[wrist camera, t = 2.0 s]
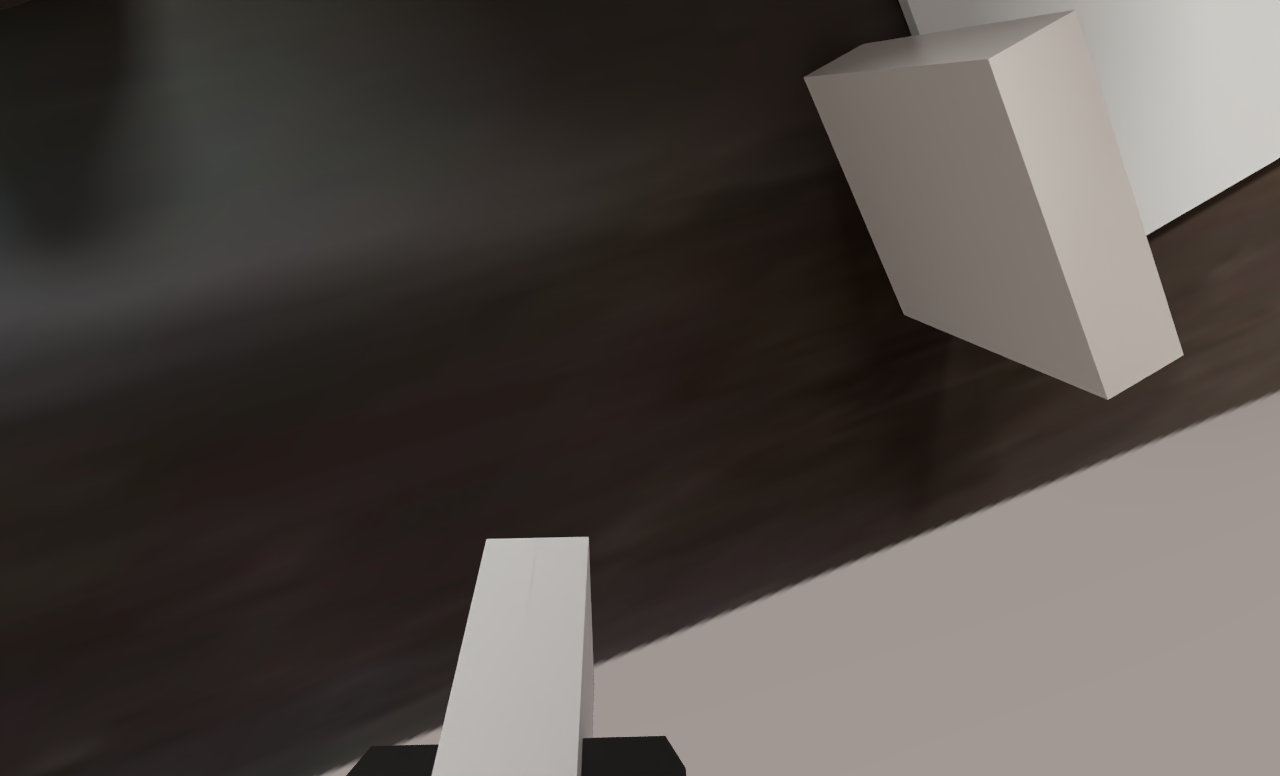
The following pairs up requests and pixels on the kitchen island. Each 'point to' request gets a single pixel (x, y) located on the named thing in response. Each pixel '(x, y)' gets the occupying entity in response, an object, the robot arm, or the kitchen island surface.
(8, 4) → the mate gourd
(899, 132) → the tile
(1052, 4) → the mat
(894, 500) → the kitchen island surface
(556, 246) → the kitchen island surface
